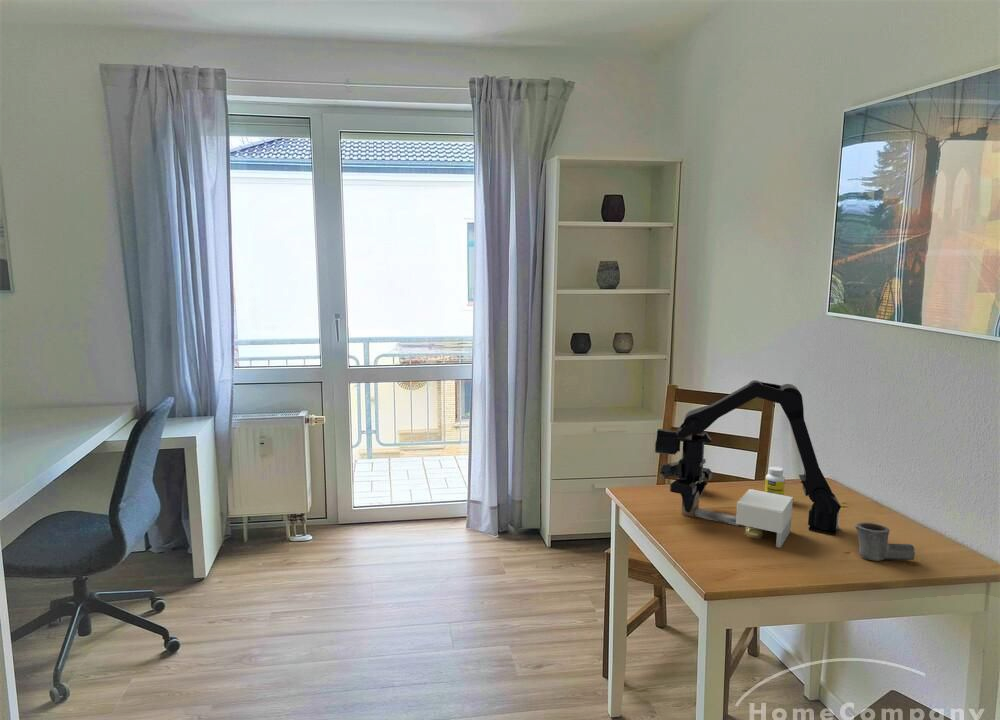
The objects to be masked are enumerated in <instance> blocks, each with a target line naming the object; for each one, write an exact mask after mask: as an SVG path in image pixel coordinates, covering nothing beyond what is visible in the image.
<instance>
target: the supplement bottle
mask: <svg viewBox="0 0 1000 720" xmlns="http://www.w3.org/2000/svg"><path fill="white" fill-rule="evenodd" d="M785 483H786V478H785V476H784V468H782V467H779V466H769V467H768V473H767V474H766V475H765V483H764V484H765V485H764V492H768V493H773V494H779V495H784V496H785V487H786V486H785V485H786V484H785Z"/></svg>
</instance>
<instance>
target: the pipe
mask: <svg viewBox="0 0 1000 720" xmlns="http://www.w3.org/2000/svg"><path fill="white" fill-rule="evenodd" d="M855 529H856V532H857V536H858V544H859V552H858V553H859V556H860V557H861V558H862V559H865V560H867V561H873V562H874V561H875V562H878V561H879V562H880V561H883V560H890V561H891V560H893V561H913V560H915V559H914V558H915V556H916V553H915V547H914V545H912V544H910V543H889V542H888V541H889V534H890V531H891V530H890V528H889V527H886V526H885V525H882V524H877V523H873V522H859V523H858V522H857V523H856V524H855Z"/></svg>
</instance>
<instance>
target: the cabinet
mask: <svg viewBox="0 0 1000 720" xmlns="http://www.w3.org/2000/svg"><path fill="white" fill-rule="evenodd" d="M793 501H794V496H789V495H785V494H784V495H779V494H773V493H768V492H765V491H762V490H756V489H752V488H751V489H750V488H749V489H748V490H747V491H746V492H745V493H744V494H743V495H742V496H741V497H740V498H739V499H738V500H737V502H736V514H735V516H736V524H740V525H739V526H744V527H746V526H749V527H754V528H759V529H763V531H769V532H773V533H776V543H775V548H778V547H779V549H780V547H782V545H784V543H785V541H786V539H787V538H788V536H789V535H790V533H791V528H792V515H793Z"/></svg>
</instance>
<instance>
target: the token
mask: <svg viewBox="0 0 1000 720" xmlns="http://www.w3.org/2000/svg"><path fill="white" fill-rule="evenodd" d="M763 534H764V530H763V529H759V528H754V527H749V526H744V535H745V536H746V537H748V538H750V539H761V537H762V538H763V537H764V536H763Z"/></svg>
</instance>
